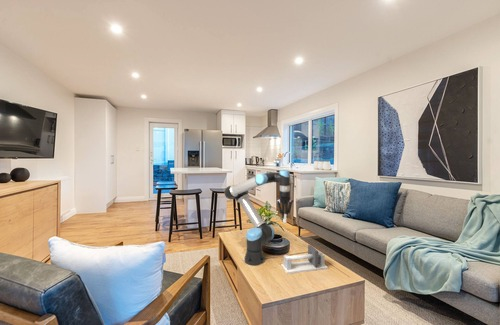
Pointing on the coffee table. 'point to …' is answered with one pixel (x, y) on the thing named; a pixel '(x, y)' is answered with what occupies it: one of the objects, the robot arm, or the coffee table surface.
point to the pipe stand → (303, 263)
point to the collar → (315, 255)
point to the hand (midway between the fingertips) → (284, 222)
